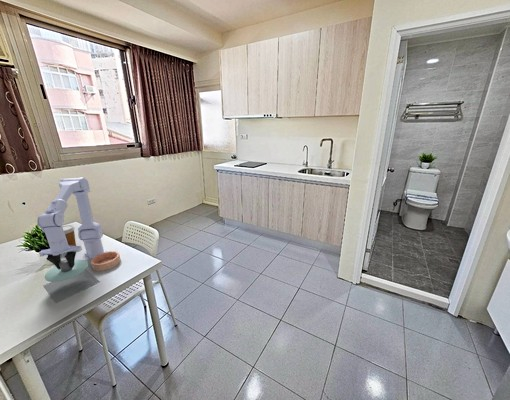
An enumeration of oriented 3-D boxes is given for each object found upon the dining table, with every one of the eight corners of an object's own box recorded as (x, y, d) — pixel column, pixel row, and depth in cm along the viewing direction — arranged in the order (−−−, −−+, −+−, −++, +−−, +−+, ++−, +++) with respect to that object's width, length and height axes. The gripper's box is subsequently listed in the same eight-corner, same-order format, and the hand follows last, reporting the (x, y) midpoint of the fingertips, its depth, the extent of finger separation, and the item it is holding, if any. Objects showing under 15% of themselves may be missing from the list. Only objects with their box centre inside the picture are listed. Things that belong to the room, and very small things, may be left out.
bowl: (89, 265, 114) (87, 259, 113) (114, 255, 123) (112, 248, 122) (98, 274, 108) (96, 267, 106) (124, 262, 117) (123, 256, 115)
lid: (40, 273, 97) (37, 264, 96) (81, 257, 109) (78, 248, 107) (50, 287, 89) (47, 277, 87) (93, 268, 100) (91, 259, 99)
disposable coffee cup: (55, 248, 130) (49, 230, 127) (73, 241, 139) (68, 223, 135) (64, 252, 127) (58, 233, 123) (82, 244, 135) (77, 226, 131)
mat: (43, 286, 100) (43, 285, 100) (85, 268, 112) (85, 267, 112) (56, 304, 90) (55, 303, 90) (100, 282, 102) (100, 281, 102)
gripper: (30, 247, 88) (41, 275, 93) (72, 242, 92) (81, 270, 96) (41, 238, 95) (51, 265, 99) (80, 234, 98) (88, 260, 103)
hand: (66, 267), depth 98 cm, fingers closed on lid, 4 cm apart
